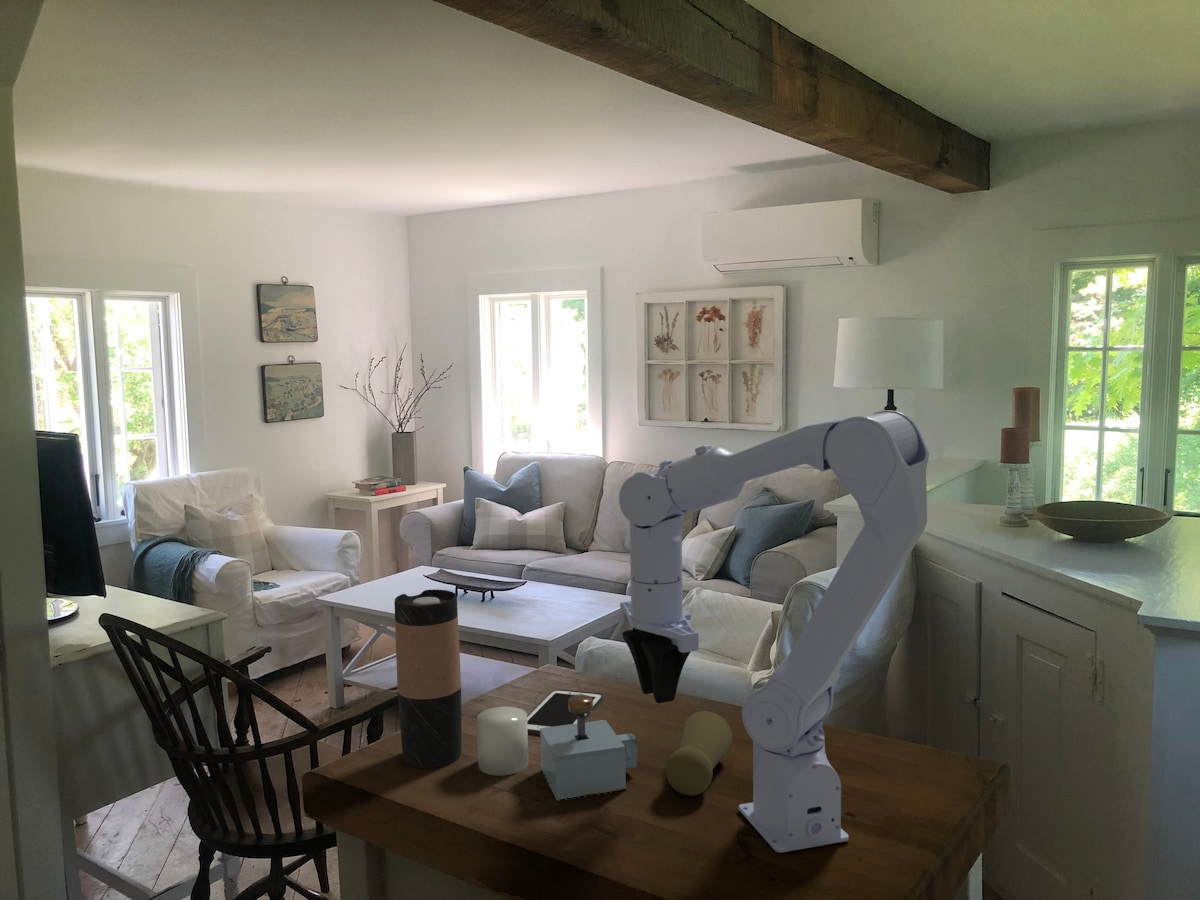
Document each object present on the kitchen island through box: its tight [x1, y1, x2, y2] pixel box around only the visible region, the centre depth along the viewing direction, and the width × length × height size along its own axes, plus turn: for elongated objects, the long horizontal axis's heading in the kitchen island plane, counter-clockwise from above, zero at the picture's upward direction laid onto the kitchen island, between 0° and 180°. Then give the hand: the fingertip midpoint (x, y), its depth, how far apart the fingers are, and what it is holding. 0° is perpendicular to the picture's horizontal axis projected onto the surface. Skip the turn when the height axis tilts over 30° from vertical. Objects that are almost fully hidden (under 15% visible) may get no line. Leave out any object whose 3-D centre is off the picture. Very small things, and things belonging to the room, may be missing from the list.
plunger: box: [568, 695, 594, 740], centre depth 107 cm, size 3×3×6 cm
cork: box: [665, 710, 733, 797], centre depth 107 cm, size 6×6×11 cm
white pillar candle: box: [476, 706, 529, 777], centre depth 112 cm, size 6×6×6 cm
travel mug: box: [393, 589, 462, 769], centre depth 113 cm, size 8×8×20 cm
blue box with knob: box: [539, 719, 638, 802], centre depth 107 cm, size 8×10×5 cm
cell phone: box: [527, 688, 604, 736], centre depth 127 cm, size 8×15×1 cm, turn 162°
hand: (658, 696), depth 104 cm, fingers open, 2 cm apart
